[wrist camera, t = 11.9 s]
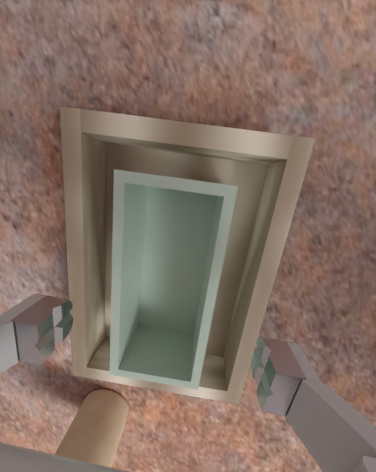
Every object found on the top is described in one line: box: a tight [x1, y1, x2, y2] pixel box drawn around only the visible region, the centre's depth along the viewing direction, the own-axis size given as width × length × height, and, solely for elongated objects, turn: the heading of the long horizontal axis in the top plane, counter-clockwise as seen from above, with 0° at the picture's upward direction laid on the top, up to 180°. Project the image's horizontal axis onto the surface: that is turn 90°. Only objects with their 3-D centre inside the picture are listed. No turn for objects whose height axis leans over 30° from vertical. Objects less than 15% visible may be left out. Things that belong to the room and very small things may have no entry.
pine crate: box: [60, 106, 316, 404], centre depth 15 cm, size 14×20×4 cm
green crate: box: [110, 169, 238, 390], centre depth 14 cm, size 6×14×5 cm, turn 172°
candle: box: [55, 389, 129, 467], centre depth 18 cm, size 6×6×10 cm
